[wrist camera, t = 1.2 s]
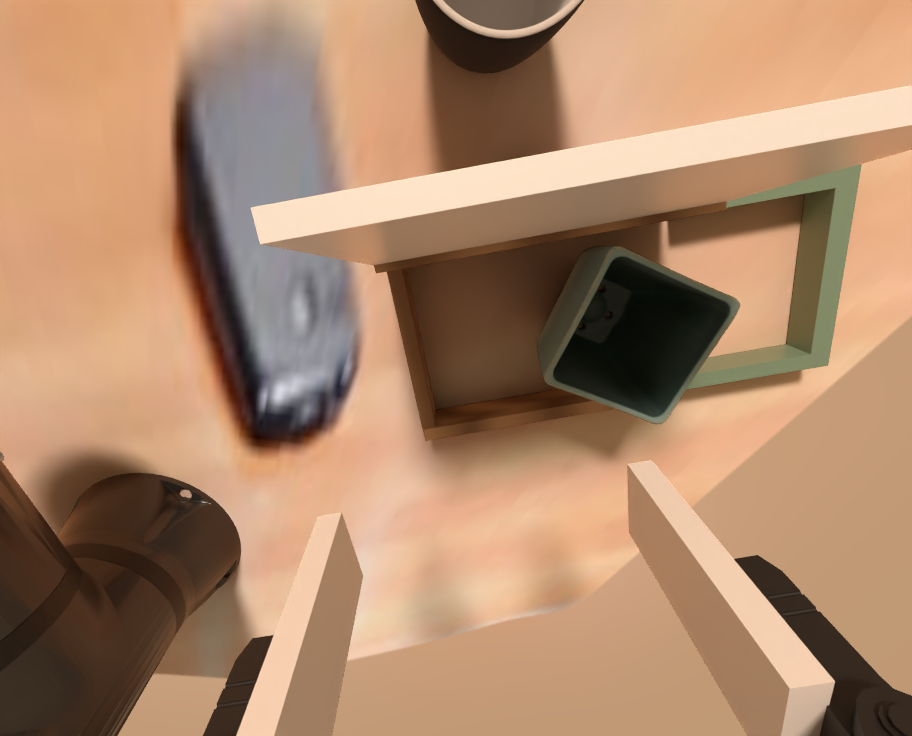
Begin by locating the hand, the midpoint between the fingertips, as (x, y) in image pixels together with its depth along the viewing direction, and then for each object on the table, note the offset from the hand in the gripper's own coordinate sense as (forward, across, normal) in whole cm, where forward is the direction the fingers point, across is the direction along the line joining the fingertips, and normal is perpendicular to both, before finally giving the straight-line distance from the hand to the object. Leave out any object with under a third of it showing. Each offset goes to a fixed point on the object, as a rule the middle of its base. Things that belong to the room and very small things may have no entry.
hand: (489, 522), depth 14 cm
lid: (+14, +6, +7) cm, 16 cm away
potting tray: (+21, +22, 0) cm, 30 cm away
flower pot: (+22, +10, 0) cm, 24 cm away
